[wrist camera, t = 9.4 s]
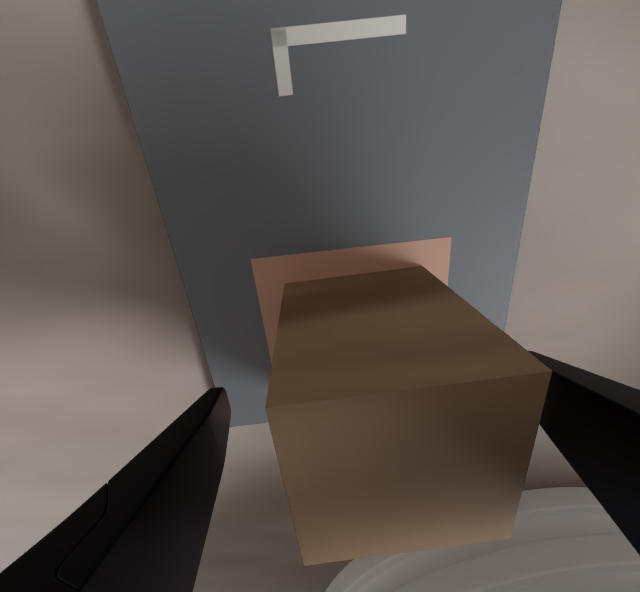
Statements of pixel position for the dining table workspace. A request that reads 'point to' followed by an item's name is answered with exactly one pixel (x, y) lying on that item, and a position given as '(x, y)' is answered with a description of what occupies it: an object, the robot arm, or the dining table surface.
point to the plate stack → (515, 555)
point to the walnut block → (398, 416)
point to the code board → (331, 150)
